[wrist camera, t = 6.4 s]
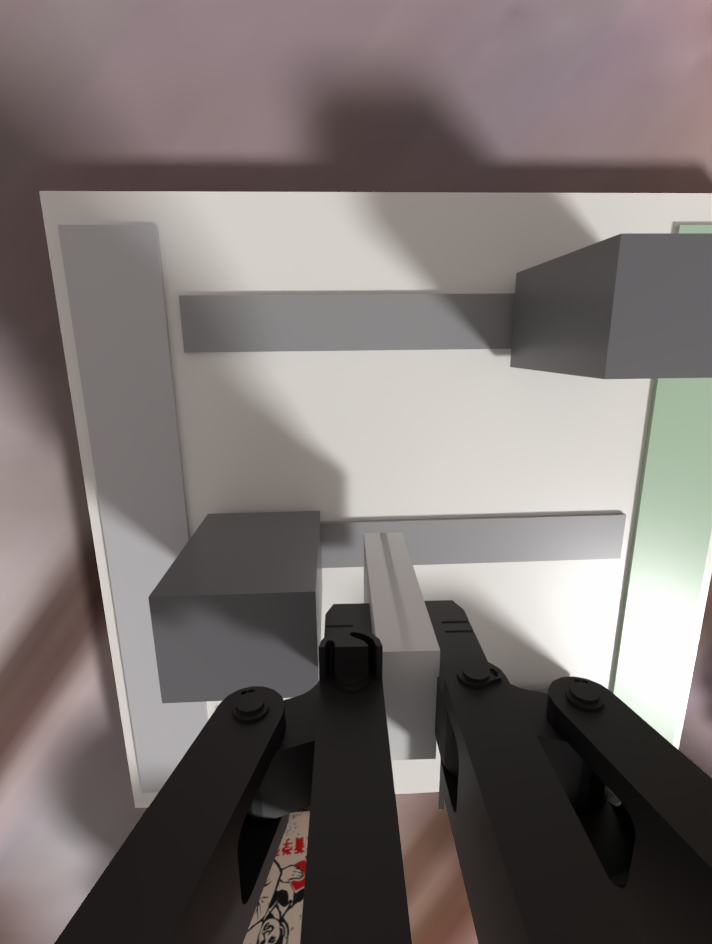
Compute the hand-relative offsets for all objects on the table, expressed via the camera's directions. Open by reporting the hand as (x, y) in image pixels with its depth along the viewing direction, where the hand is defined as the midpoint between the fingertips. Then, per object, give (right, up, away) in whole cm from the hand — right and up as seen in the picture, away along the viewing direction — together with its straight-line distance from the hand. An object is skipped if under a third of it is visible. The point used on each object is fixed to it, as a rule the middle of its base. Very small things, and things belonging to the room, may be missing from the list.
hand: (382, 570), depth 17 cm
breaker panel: (+1, +1, +4) cm, 4 cm away
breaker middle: (-4, 0, +1) cm, 4 cm away
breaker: (+6, +8, 0) cm, 11 cm away
